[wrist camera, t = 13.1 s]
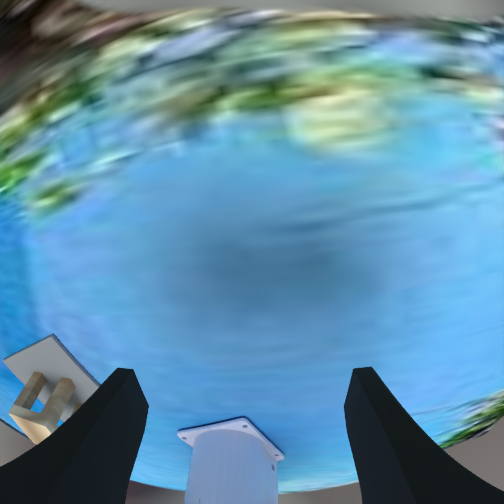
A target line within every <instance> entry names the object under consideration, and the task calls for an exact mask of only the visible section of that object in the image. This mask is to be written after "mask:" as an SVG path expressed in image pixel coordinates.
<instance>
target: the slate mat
mask: <svg viewBox="0 0 504 504" xmlns="http://www.w3.org/2000/svg"><path fill="white" fill-rule="evenodd" d="M3 362H4V363H5V364H6V365H7V366H8V368H9V369H10V370H11V371H12V372H13V373H14V374H15V375H16V376H17V377H18V378H19V380H20V381H21V382H22V383H23V384H24V385H26V383H27V382H28V380H29V379H30V377H31V376H32V374H33V373H34V371H36V372H40V373H42V374H43V375H44V377H45V379H46V380H47V382H46V383H45V385H44V387H43V388H42V390H41V392H40V393H39V395H38V397H37V398H38V399H39V400H40V401H41V402H42V403H43V404H44V405H45V404H46V402H47V401H48V399H49V397H50V396H51V395H52V393H53V392H54V390H55V388H56V386H57V385H58V383H59V381H60V380H61V378H62V377H63V378H68V379H71V380H72V382H73V383H74V385H75V387H76V388H75V389H74V391H73V393H72V395H71V397H70V399H69V401H68V403H67V405H66V407H65V409H64V411H63V413H62V415H61V417H60V419H61V420H62V421H63V422H65V421H66V420H67V419H68V418H69V417H70V416H71V414H72V412H73V410H74V408H75V406H76V404H77V403H81V404H83V403H84V402H85V401H86V400H87V399H88V398H89V397H90V396H91V395H92V394H93V393H94V392H95V391H96V390H97V389H98V388H99V387H100V386H101V385H100V384H99V383H98V382H97V381H96V380H95V379H94V378H93V377H92V376H91V375H90V374H89V373H88V372H87V371H86V370H85V369H84V368H83V367H82V366H81V365H80V363H79V362H78V361H77V360H76V359H75V358H74V357H73V356H72V355H71V354H70V353H69V351H68V350H67V349H66V348H65V347H64V346H63V345H62V343H61V342H60V341H59V340H58V339H57V338H56V336H55V335H54V334H52V335H50V336H48V337H46V338H44V339H42V340H40V341H38V342H36V343H34V344H32V345H30V346H28V347H26V348H24V349H22V350H20V351H18V352H16V353H14V354H12V355H11V356H9V357H7V358H5V359H4V360H3Z"/></svg>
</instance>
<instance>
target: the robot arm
mask: <svg viewBox="0 0 504 504" xmlns="http://www.w3.org/2000/svg"><path fill="white" fill-rule="evenodd" d="M148 408H149V405H148V403H147V401H146V398H145V396H144V394H143V391H142V389H141V387H140V384H139V382H138V380H137V377H136V375H135V372H134V370H133V369H125V368H117V369H116V370H115V371H114V372H113V373H112V374H111V375H110V376H109V377H108V378H107V379H106V380H105V381H104V382H103V383H102V385H101V386H100V387H99V388H98V389H97V390H96V391H95V392H94V393H93V394H92V395H91V396H90V397H89V398H88V399H87V400H86V401H85V402H84V403H83V404H82V405H81V407H80V408H79V409H78V410H77V411H76V412H75V413H74V414H72V415H71V416H70V417H69V418H68V419H67V420H66V421H65V422H64V423H63V424H62V425H61V426H60V427H59V428H58V429H56V430H55V431H54V432H53V433H52V434H50V435H49V436H48V437H47V438H45V439H44V440H43V441H41V442H40V443H39V444H37V445H36V446H35V447H33V448H32V449H30V450H29V451H27V452H25V453H24V454H22V455H21V456H19V457H18V458H16V459H14V460H12V461H11V462H9V463H7V464H5V465H3V466H1V467H0V504H125V500H126V493H127V488H128V483H129V480H130V476H131V473H132V470H133V467H134V463H135V460H136V457H137V454H138V450H139V447H140V444H141V441H142V438H143V434H144V431H145V426H146V420H147V414H148ZM344 412H345V420H346V428H347V434H348V438H349V442H350V446H351V450H352V454H353V458H354V462H355V467H356V471H357V475H358V479H359V483H360V488H361V493H362V503H363V504H504V491H502V490H500V489H498V488H496V487H494V486H492V485H491V484H489V483H487V482H486V481H484V480H482V479H481V478H479V477H478V476H476V475H475V474H473V473H472V472H471V471H469V470H468V469H466V468H465V467H463V466H462V465H461V464H459V463H458V462H457V461H455V460H454V459H453V458H452V457H450V455H448V454H447V453H446V452H445V451H444V450H443V449H442V448H441V447H439V446H438V445H437V444H436V443H435V442H434V441H433V440H432V439H431V438H430V437H429V436H428V435H427V434H426V433H425V432H424V431H423V430H422V428H421V427H420V426H419V425H418V424H417V423H416V422H415V421H414V420H413V419H412V417H411V416H410V415H409V414H408V413H407V411H406V410H405V409H404V408H403V407H402V405H401V404H400V403H399V402H398V401H397V399H396V398H395V397H394V395H393V394H392V393H391V392H390V390H389V389H388V388H387V386H386V385H385V384H384V382H383V381H382V380H381V378H380V377H379V376H378V374H377V373H376V372H375V370H374V369H373V368H372V367H364V368H355V369H353V372H352V376H351V381H350V385H349V389H348V392H347V396H346V400H345V404H344ZM177 436H178V437H179V438H181V439H182V440H183V441H184V442H186V443H187V444H188V445H190V446H191V447H192V448H193V451H192V457H191V463H190V469H189V475H188V481H187V488H186V494H185V500H184V504H278V481H277V461H280V460H283V459H285V455H284V454H283V453H282V452H280V451H279V450H278V449H277V448H276V447H275V446H274V445H273V444H272V443H271V442H270V441H269V440H268V439H267V438H266V437H265V436H263V435H262V434H261V433H260V432H259V431H258V430H257V429H256V428H255V427H254V426H253V425H252V424H251V423H250V422H249V421H248V420H247V419H245V418H239V419H235V420H230V421H226V422H221V423H217V424H212V425H207V426H202V427H197V428H192V429H187V430H181V431H178V432H177Z"/></svg>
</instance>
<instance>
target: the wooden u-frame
mask: <svg viewBox="0 0 504 504" xmlns="http://www.w3.org/2000/svg"><path fill="white" fill-rule="evenodd" d="M46 382H47V380H46V379H45V377H44V375H43V374H42V373H40V372H36V371H34V373H33V374H32V376H31V377H30V379H29V380H28V382H27V383H26V385H25V386H24V388H23V390H22V391H21V393H20V394H19V396H18V398H17V399H16V401H15V402H14V404H13V406H12V407H11V409H10V411H9V412H8V413H9V414H10V416H11V417H12V418H13V419H14V421H15V422H16V423H17V424H18V425H19V427H20V428H21V429H22V430H23V431H24V432H25V434H26V435H27V436H28V437H29V438H30V439H31V440H32V441H33V443H35V444H39V443H40V442H41V441H43V440H44V439H45V438H47V437H48V436H49V435H50V434H52V433H53V432H54V431H55V430H56V429H58V428H59V427H58V426H57V423H58V421H59V419H60V417H61V415H62V413H63V411H64V409H65V407H66V405H67V403H68V401H69V399H70V397H71V395H72V393H73V391H74V389H75V388H76V387H75V385H74V383H73V382H72V380H71V379H68V378H63V377H62V378H61V380H60V381H59V383H58V385H57V386H56V388H55V390H54V392H53V393H52V395H51V396H50V397H49V399H48V401H47V402H46V404H45V406H44V408H43V410H42V411H41V413H37V412H34V411H31V410H30V409H31V407H32V405H33V404H34V402H35V400H36V398H37V397H38V395H39V393H40V392H41V390H42V388H43V387H44V385H45V383H46ZM81 405H82V404H81V403H77V404H76V406H75V408H74V410H73V412H72V414H74V413H75V412H76V411H77V410H78V409H79V408H80V407H81ZM72 414H71V415H72Z"/></svg>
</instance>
